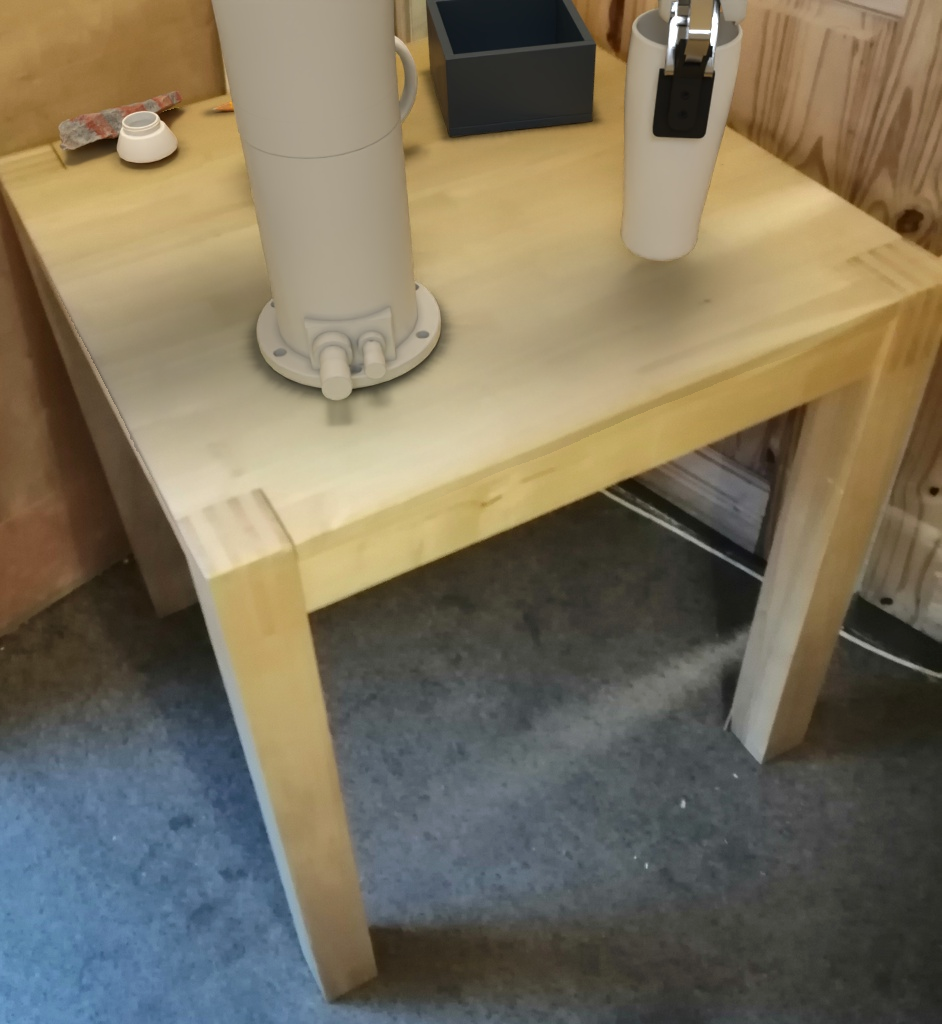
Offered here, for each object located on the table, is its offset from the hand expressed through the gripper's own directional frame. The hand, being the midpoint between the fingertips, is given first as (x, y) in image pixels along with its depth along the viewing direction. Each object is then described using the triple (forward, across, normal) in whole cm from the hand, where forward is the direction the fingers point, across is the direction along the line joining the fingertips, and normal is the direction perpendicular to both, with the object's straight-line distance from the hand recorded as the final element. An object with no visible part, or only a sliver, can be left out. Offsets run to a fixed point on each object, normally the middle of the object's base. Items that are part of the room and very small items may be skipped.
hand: (676, 104), depth 68 cm
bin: (+13, +28, +13) cm, 33 cm away
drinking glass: (+10, 0, 0) cm, 10 cm away
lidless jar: (+14, +16, +43) cm, 48 cm away
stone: (+14, +21, +48) cm, 54 cm away
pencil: (+14, +26, +33) cm, 44 cm away
